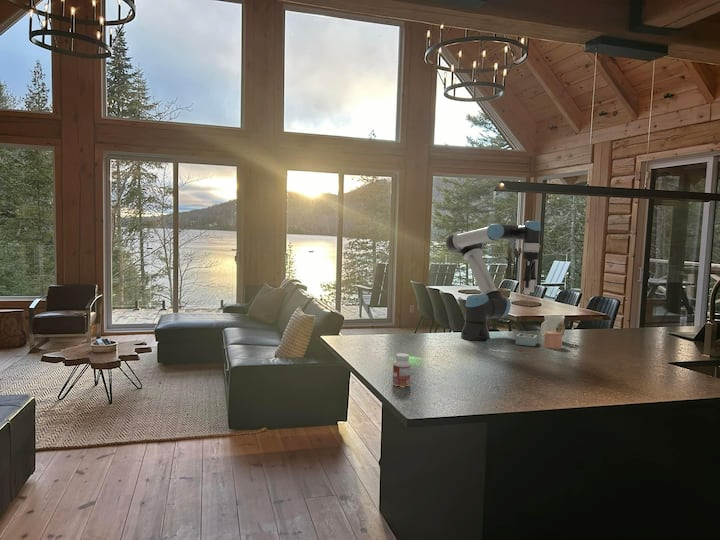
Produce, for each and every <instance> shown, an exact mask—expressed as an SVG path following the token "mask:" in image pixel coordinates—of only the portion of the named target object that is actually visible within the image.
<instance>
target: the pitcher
mask: <svg viewBox="0 0 720 540" xmlns="http://www.w3.org/2000/svg"><path fill="white" fill-rule="evenodd" d="M565 316H566V315H565V314H551V315H550V314H549V315H544V321H543V322H542V323H541V324H540V326H541V327H540V333H541V335H542V336H543V338H545V332H547V331H553V332H560V333H562V335H563V336H562V339H563V338H564V336H565V331H566V330H565V329H566V327H565V322H564V321H565V319H566V317H565Z"/></svg>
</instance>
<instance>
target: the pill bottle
mask: <svg viewBox="0 0 720 540" xmlns="http://www.w3.org/2000/svg"><path fill="white" fill-rule="evenodd" d="M395 359H396V360H394V361H393V365H392V367H393V368H392V385H393V386H394V385H395V386H394V387H396V386H408V387H410V386H411V361H410V360H409V359H410V354H408V353H403V352H402V353H401V352H399V353H396V354H395Z"/></svg>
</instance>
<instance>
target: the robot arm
mask: <svg viewBox="0 0 720 540" xmlns="http://www.w3.org/2000/svg"><path fill="white" fill-rule="evenodd" d="M540 238H541V222H540V221H537V220H527V221H525V222H524V224H522V225H521V224H504V223H503V224H501V223H491V224H490V225H489V226H486V227H482V228H479V229H475V230H470V231H466V232H463V233H462V232H454V233H451V234H449V235H448V236H447V237H446V239H445V240H446V241H445V246H446V248H447V250H449V252H451V253H454V254H461V256H462V257H463V260H466V261H467V263H468V266H469V267H470V268H469V269H470V270H471V273H472V275H473V277H474V280H475V282H476V284H477V287H478V290H479V292H480V294H471V295H468V296H467V297H466V301H465V310H464V311H465V315H464V316H465V317H464V324H463V327H462V330H461V333H460V338H462V339H464V340H467V341H468V340H469V341H475V342H476V341H478V342H480V341H481V342H484V341H487V340H490V339H491V337H490V336H491V335H490V331H489V328H488V319H501V318H505V317H506V316H508V314H509V313H510V310H511V302H510V301H511V300H510V299H509V298H508V297H506V296H505V295H503V294H502V291H501V290H499V289H497V287H496V285H495V282H494V280H493V278H492V276H491V273H490V271H489V269H488V266H487V265H486V263H485V259H484V258H483V256H482V254H483V249H484V246H483V245H484V243H487V242H491V241H497V240H516V241H517V240H522V241H523V255H522V256H523V257H522V259H523V260H526V261H525V269H524V270H525V271H524V277H523V279H522V281H523V282H524V285H523V286H524V287H523V288H524V289H523V291H524V292H523V294H524V295H531V293H535V281H537V277H536V260H537V261H538V260H539V259H540V253H539V251H540V248H541V245H540V243H541V242H540V240H541V239H540Z"/></svg>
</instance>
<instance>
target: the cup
mask: <svg viewBox="0 0 720 540" xmlns="http://www.w3.org/2000/svg"><path fill="white" fill-rule="evenodd" d="M562 336H563V337H564V335H562V333H560V332H553V331H547V332H545V337H544V342H543V347H544V348H547V349H554V350H562V348H563V338H562Z"/></svg>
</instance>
